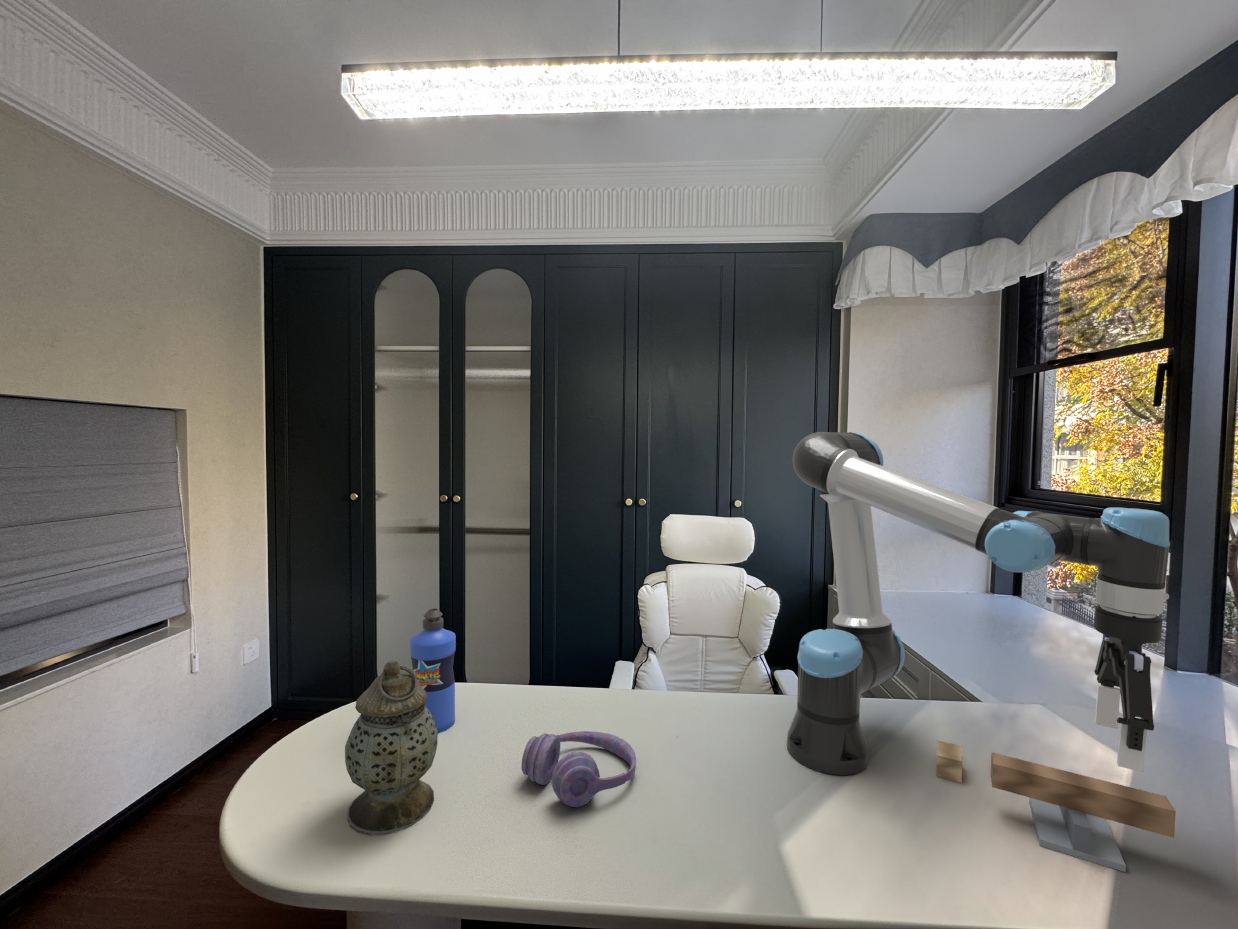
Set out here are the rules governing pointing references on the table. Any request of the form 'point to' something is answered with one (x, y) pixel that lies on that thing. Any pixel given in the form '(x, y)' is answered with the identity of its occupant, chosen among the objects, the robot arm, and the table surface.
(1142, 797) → the walnut bar
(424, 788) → the lantern
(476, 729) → the table surface
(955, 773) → the block
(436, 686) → the water bottle
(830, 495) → the robot arm
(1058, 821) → the fulcrum
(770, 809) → the table surface
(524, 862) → the table surface
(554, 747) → the headphones
